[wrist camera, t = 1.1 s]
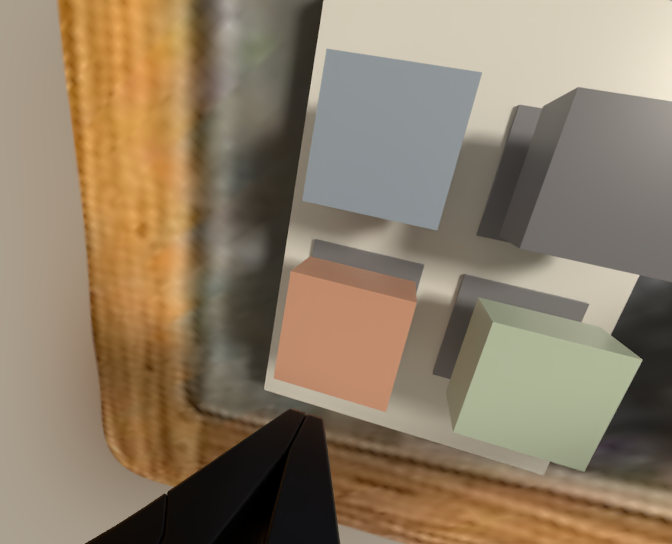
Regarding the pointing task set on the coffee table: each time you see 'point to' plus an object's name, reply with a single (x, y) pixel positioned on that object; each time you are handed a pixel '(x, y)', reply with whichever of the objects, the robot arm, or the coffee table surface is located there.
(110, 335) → the coffee table surface
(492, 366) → the sage key
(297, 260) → the keypad board
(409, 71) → the slate key
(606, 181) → the charcoal key
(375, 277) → the terracotta key
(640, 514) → the coffee table surface
